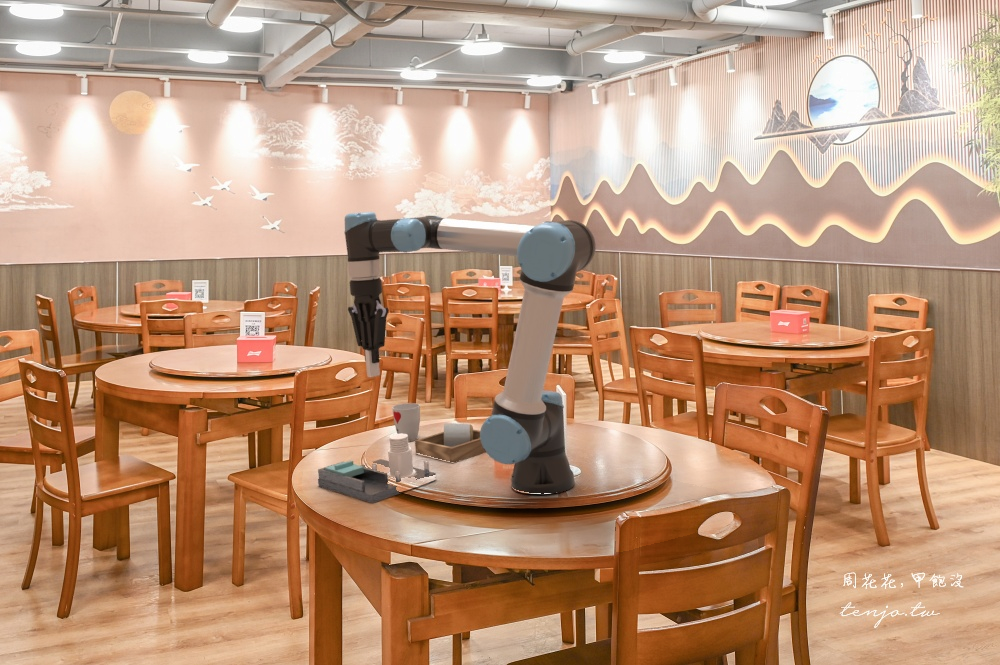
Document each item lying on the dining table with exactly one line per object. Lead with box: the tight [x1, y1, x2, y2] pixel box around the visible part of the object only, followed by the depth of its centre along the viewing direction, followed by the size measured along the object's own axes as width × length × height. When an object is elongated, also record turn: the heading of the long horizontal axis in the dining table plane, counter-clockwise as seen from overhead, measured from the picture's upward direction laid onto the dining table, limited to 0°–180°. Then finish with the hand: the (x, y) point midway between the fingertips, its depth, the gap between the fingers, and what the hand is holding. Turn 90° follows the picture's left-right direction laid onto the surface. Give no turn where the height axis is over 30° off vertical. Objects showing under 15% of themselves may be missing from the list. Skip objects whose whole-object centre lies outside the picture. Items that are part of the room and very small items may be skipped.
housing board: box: [317, 459, 437, 504], centre depth 226 cm, size 22×20×5 cm
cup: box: [391, 402, 421, 442], centre depth 266 cm, size 8×8×10 cm
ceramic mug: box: [443, 422, 474, 447], centre depth 253 cm, size 11×8×8 cm
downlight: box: [387, 433, 416, 478], centre depth 225 cm, size 8×7×10 cm
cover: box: [325, 460, 364, 477], centre depth 225 cm, size 8×6×2 cm
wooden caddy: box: [414, 428, 487, 463], centre depth 250 cm, size 15×17×4 cm
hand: (373, 375), depth 217 cm, fingers closed
